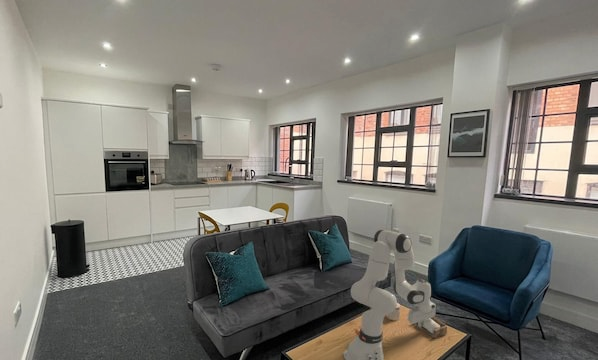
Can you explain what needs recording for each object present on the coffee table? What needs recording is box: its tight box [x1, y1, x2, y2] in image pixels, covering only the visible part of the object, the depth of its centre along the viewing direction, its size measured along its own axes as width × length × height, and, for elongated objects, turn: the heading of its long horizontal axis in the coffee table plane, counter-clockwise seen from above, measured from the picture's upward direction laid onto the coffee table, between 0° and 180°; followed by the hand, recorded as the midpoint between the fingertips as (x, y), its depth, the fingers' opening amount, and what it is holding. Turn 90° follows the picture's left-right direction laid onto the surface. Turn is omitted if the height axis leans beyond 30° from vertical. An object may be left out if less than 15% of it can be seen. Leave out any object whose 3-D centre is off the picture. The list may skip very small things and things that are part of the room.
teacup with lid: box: [385, 302, 401, 321], centre depth 195 cm, size 12×9×12 cm
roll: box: [422, 319, 440, 335], centre depth 181 cm, size 12×7×7 cm, turn 20°
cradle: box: [413, 316, 448, 339], centre depth 181 cm, size 10×16×6 cm, turn 25°
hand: (420, 326), depth 177 cm, fingers closed
